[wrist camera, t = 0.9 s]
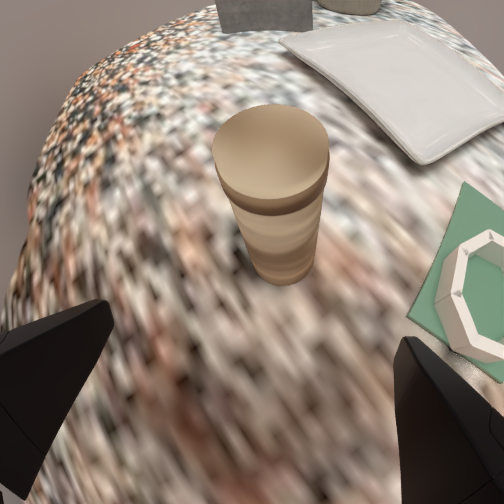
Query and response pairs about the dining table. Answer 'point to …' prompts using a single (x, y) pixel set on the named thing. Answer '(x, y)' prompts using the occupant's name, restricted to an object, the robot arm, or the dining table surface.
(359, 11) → the canister
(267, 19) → the hip flask
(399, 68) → the square plate
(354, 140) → the dining table surface
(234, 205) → the tan tapered tumbler
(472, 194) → the octagonal cup coaster
